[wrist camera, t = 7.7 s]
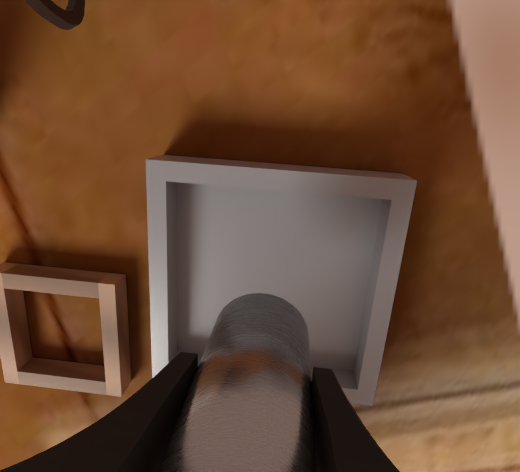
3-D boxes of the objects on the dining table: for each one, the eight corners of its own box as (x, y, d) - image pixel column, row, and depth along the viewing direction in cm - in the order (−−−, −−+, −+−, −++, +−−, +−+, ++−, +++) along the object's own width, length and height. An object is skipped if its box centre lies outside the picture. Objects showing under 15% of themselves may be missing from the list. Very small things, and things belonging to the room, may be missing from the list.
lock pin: (303, 380, 16) (310, 616, 8) (213, 370, 16) (140, 588, 9) (313, 298, 15) (331, 486, 7) (215, 288, 15) (134, 459, 7)
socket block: (131, 381, 25) (121, 396, 24) (21, 367, 26) (4, 382, 24) (125, 274, 23) (114, 284, 21) (4, 262, 23) (-15, 271, 22)
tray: (365, 377, 24) (372, 406, 21) (166, 354, 24) (152, 379, 22) (402, 173, 20) (417, 180, 17) (163, 154, 20) (145, 159, 18)
